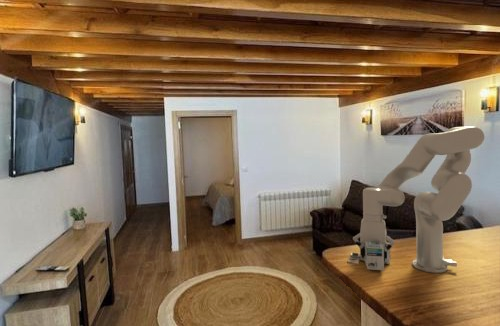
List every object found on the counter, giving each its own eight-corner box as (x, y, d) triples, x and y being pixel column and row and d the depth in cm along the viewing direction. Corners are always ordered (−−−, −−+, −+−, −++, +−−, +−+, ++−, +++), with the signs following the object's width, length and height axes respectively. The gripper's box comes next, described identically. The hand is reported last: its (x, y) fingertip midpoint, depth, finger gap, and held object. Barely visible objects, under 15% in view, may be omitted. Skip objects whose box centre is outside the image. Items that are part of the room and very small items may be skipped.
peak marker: (358, 254, 140) (358, 253, 140) (357, 255, 139) (357, 253, 139) (352, 254, 142) (352, 252, 141) (352, 254, 141) (352, 253, 141)
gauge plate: (389, 263, 131) (389, 242, 131) (389, 264, 130) (389, 243, 129) (350, 258, 139) (349, 238, 138) (350, 259, 138) (349, 239, 137)
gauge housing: (390, 257, 138) (390, 236, 137) (389, 268, 127) (389, 245, 126) (351, 253, 145) (351, 232, 144) (347, 262, 134) (347, 240, 134)
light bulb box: (384, 270, 122) (384, 244, 121) (366, 269, 123) (366, 244, 123) (379, 260, 132) (379, 236, 131) (363, 259, 134) (363, 235, 133)
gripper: (396, 216, 125) (396, 257, 127) (352, 213, 133) (353, 252, 135) (395, 221, 119) (396, 264, 120) (349, 218, 127) (350, 258, 128)
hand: (373, 258), depth 127 cm, fingers closed on light bulb box, 7 cm apart
